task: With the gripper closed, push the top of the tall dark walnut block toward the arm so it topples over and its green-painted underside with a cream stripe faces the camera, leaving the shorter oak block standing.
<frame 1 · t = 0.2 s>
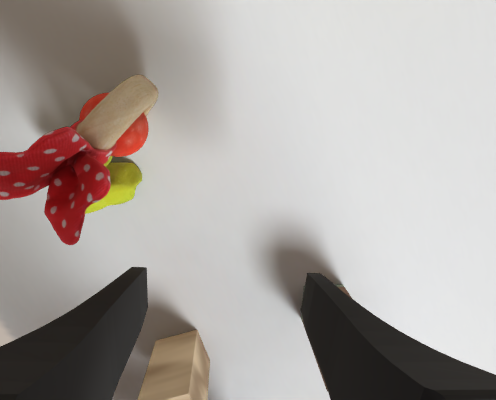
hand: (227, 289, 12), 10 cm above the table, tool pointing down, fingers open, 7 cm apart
oak block: (183, 350, 26), on the table
bird rattle: (123, 136, 19), on the table
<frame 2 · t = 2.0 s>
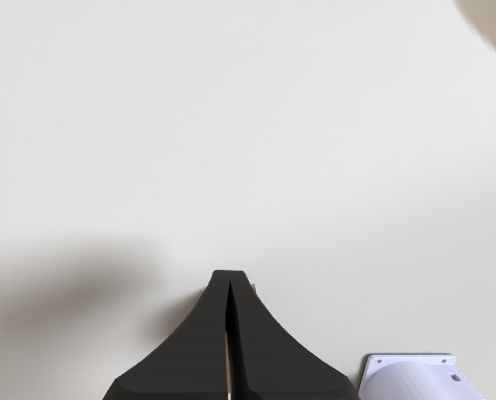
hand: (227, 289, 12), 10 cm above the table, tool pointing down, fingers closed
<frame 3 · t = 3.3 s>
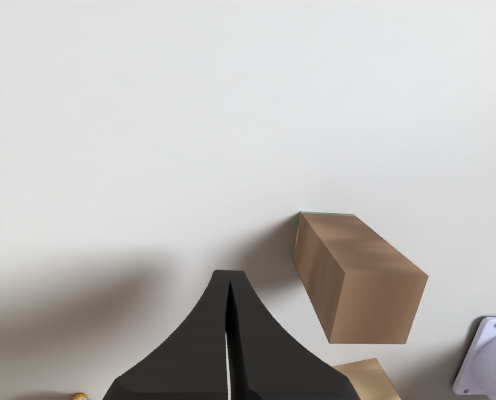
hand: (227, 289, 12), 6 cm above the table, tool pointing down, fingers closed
oak block: (353, 380, 23), on the table
walnut block: (322, 237, 18), on the table
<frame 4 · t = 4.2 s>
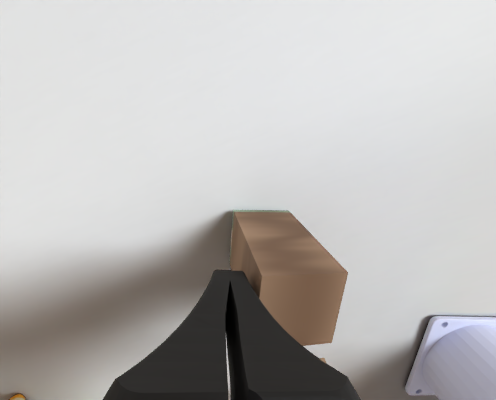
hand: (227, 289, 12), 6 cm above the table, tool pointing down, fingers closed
walnut block: (258, 236, 18), on the table, tilted 7°
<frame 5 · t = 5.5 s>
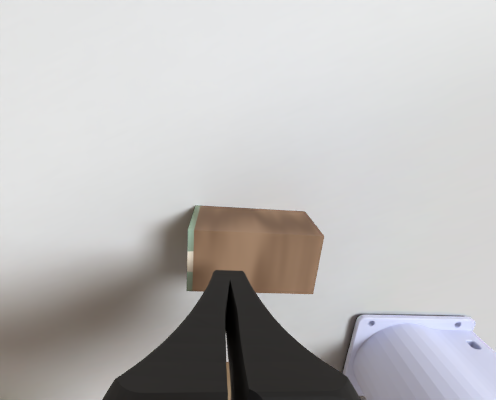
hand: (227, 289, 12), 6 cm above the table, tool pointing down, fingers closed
walnut block: (191, 245, 16), point 2 cm above the table, tilted 90°
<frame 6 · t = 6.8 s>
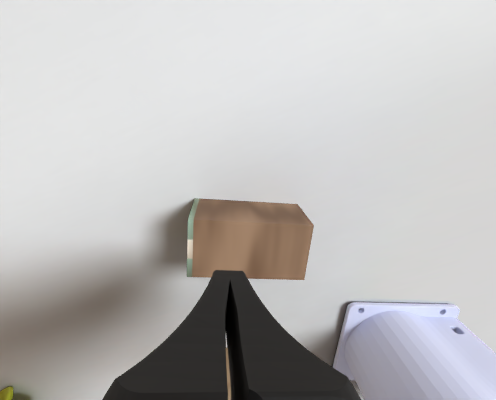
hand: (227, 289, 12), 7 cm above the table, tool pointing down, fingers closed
walnut block: (191, 234, 17), point 2 cm above the table, tilted 90°
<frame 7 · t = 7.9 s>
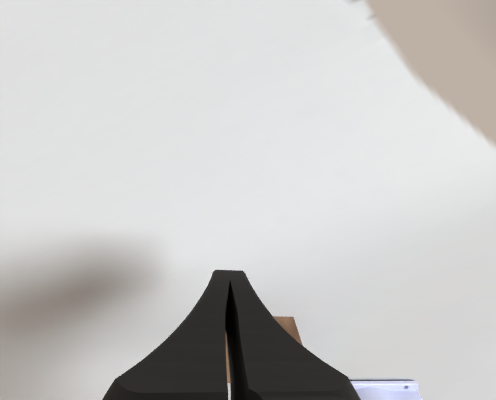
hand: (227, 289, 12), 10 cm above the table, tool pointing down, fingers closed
walnut block: (216, 347, 23), point 2 cm above the table, tilted 90°
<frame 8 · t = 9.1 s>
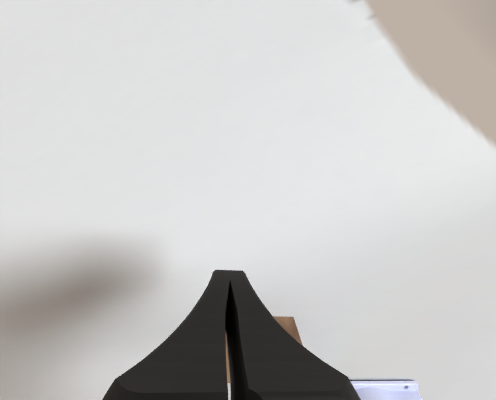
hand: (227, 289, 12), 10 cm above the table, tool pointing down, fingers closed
walnut block: (216, 347, 23), point 2 cm above the table, tilted 90°
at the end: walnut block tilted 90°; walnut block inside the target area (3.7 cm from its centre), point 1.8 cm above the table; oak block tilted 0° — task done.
